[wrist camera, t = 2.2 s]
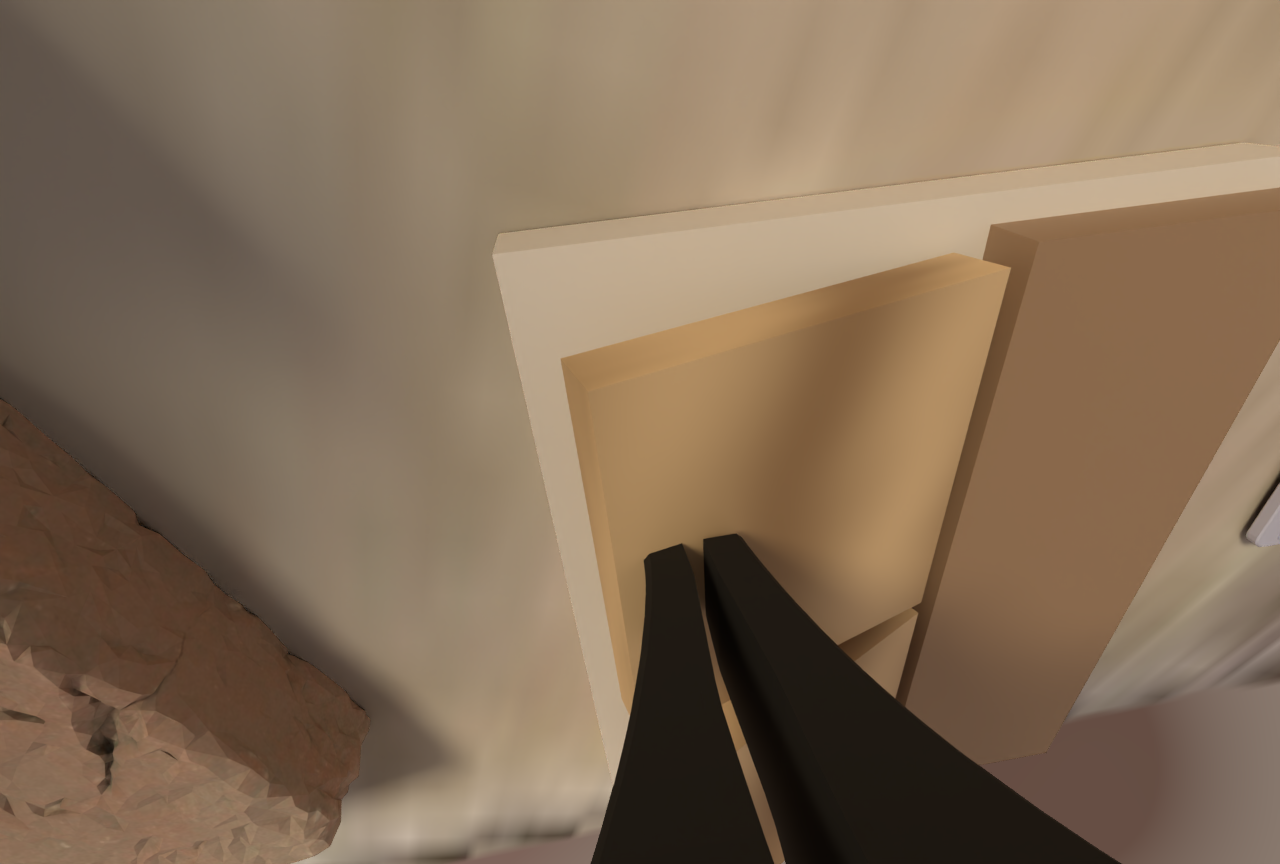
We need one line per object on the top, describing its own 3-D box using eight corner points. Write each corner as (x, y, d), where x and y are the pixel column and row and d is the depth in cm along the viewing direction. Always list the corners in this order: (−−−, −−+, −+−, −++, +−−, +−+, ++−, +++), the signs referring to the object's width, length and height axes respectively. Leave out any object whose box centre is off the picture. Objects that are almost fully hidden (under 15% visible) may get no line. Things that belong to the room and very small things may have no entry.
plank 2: (879, 584, 16) (918, 612, 15) (845, 752, 21) (873, 780, 20) (639, 752, 13) (670, 800, 12) (664, 905, 18) (688, 947, 17)
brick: (390, 712, 19) (349, 875, 15) (173, 786, 20) (79, 963, 16) (-119, 248, 10) (-527, 355, 7) (-484, 408, 11) (-1060, 595, 7)
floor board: (1243, 142, 12) (1405, 160, 10) (1003, 689, 23) (1054, 758, 21) (498, 233, 11) (485, 277, 9) (612, 760, 22) (620, 842, 20)
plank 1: (953, 252, 11) (1011, 267, 10) (886, 571, 16) (921, 602, 15) (560, 358, 9) (588, 391, 8) (622, 698, 13) (643, 744, 12)
